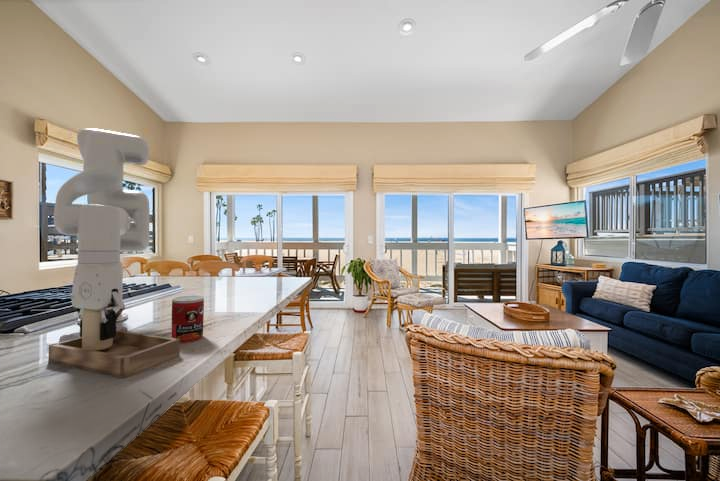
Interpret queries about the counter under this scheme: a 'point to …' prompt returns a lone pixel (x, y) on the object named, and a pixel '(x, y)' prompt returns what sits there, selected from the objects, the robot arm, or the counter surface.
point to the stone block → (77, 334)
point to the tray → (116, 354)
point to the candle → (93, 331)
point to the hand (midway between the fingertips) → (98, 336)
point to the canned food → (187, 318)
